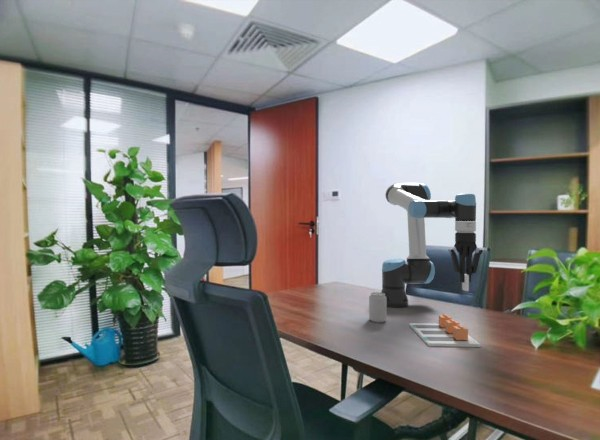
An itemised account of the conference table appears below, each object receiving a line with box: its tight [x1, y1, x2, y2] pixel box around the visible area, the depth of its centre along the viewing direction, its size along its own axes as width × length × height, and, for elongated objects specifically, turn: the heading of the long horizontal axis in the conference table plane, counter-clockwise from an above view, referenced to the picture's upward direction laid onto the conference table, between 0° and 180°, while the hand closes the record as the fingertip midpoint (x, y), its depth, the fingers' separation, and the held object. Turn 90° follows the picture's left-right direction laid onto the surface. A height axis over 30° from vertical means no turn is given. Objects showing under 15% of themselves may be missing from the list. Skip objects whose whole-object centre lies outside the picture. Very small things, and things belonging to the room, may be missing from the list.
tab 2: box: [445, 318, 460, 333], centre depth 129 cm, size 3×4×5 cm
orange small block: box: [438, 313, 453, 328], centre depth 136 cm, size 3×4×5 cm
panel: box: [409, 322, 481, 348], centre depth 129 cm, size 23×18×1 cm
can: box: [368, 291, 388, 324], centre depth 148 cm, size 8×8×12 cm
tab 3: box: [453, 323, 469, 340], centre depth 122 cm, size 3×4×5 cm
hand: (465, 290), depth 135 cm, fingers closed
